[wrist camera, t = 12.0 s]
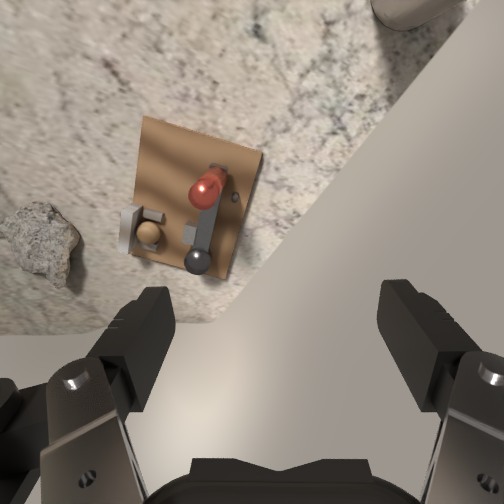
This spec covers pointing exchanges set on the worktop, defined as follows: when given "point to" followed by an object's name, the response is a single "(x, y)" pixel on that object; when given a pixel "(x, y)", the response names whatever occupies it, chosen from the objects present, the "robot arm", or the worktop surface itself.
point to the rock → (41, 241)
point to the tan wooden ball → (148, 232)
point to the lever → (203, 218)
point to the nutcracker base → (185, 193)
